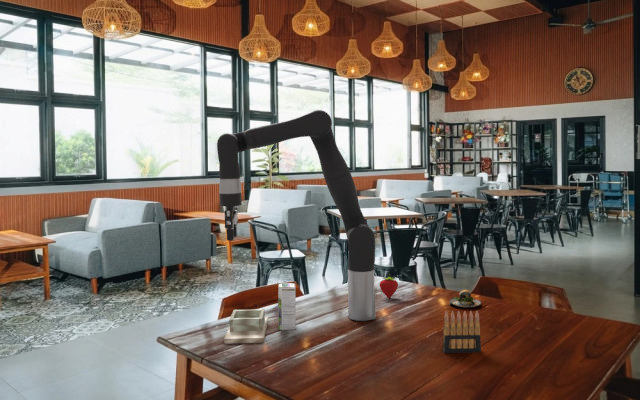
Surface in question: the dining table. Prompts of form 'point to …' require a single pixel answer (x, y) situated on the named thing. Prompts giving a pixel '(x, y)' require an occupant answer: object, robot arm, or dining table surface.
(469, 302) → the burger
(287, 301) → the syrup box
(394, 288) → the strawberry
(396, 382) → the dining table surface
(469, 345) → the ammunition clip
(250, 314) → the stand
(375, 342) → the dining table surface
